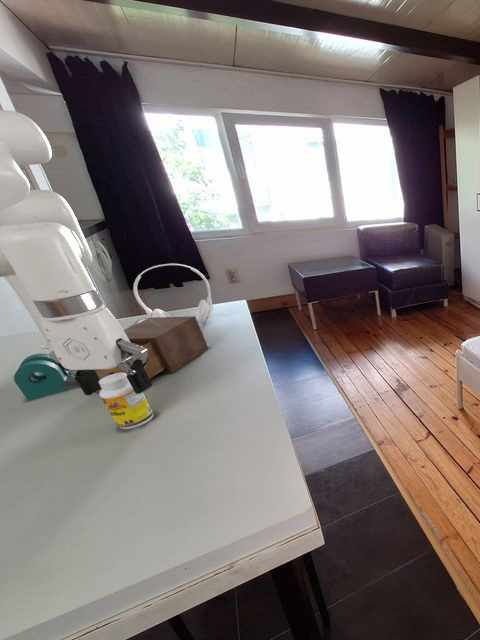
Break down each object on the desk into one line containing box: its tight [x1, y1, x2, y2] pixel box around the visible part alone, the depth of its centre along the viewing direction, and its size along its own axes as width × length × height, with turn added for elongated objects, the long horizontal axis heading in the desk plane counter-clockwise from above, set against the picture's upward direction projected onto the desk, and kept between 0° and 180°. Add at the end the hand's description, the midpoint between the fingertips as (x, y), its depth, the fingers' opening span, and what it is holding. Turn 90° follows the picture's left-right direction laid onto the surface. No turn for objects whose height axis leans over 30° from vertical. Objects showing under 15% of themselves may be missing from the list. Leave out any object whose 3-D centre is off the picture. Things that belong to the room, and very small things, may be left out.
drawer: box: [62, 341, 166, 394], centre depth 82 cm, size 17×11×8 cm, turn 178°
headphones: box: [133, 263, 214, 325], centre depth 112 cm, size 7×18×20 cm, turn 127°
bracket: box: [13, 353, 77, 402], centre depth 86 cm, size 18×7×8 cm, turn 130°
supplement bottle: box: [98, 373, 154, 430], centre depth 70 cm, size 6×6×10 cm
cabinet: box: [123, 315, 209, 374], centre depth 94 cm, size 14×13×10 cm
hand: (119, 390), depth 69 cm, fingers open, 9 cm apart
